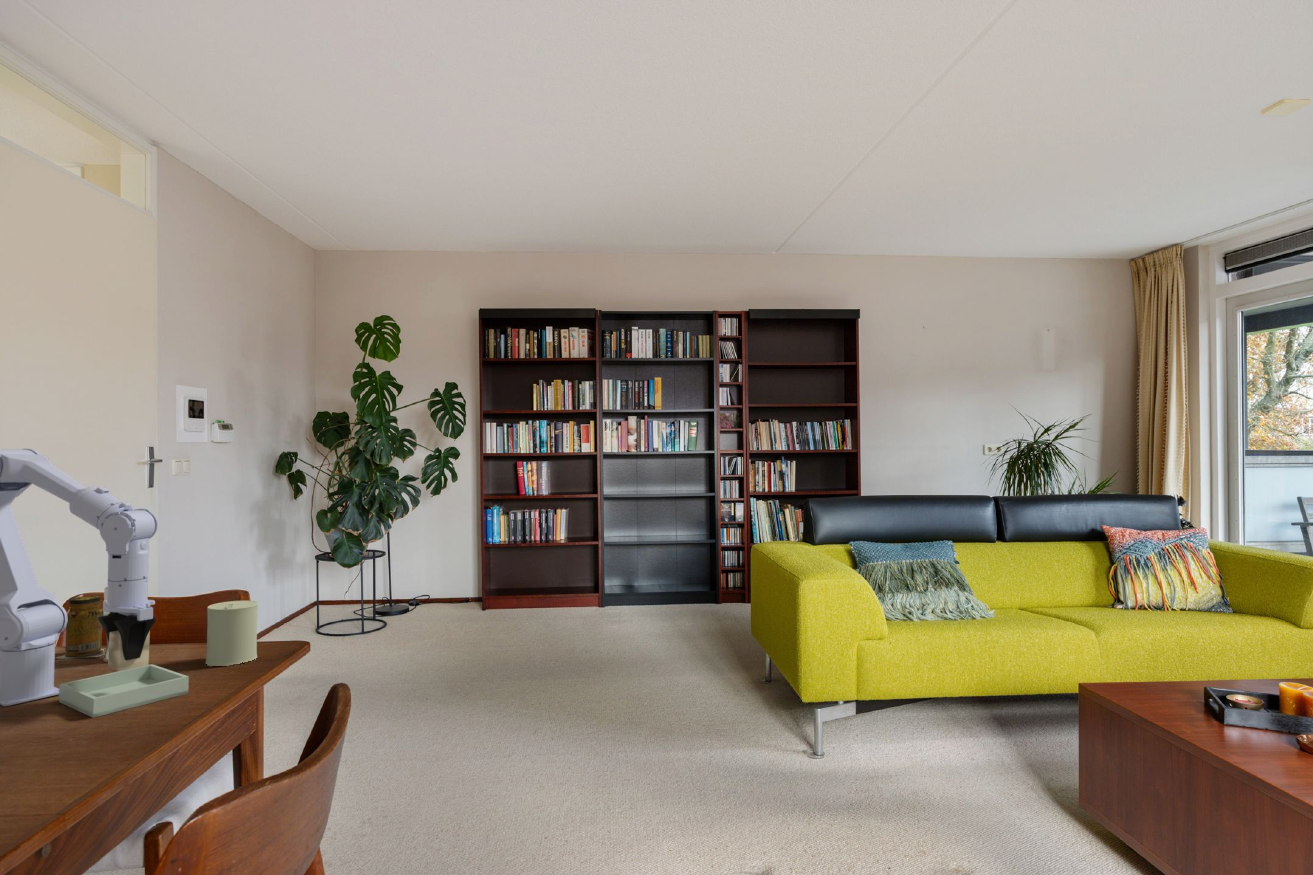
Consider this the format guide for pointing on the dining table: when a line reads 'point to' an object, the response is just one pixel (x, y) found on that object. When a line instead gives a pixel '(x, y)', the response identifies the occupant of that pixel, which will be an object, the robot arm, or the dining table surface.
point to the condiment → (84, 628)
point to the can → (231, 633)
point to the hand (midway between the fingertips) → (126, 656)
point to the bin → (122, 690)
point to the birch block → (117, 657)
